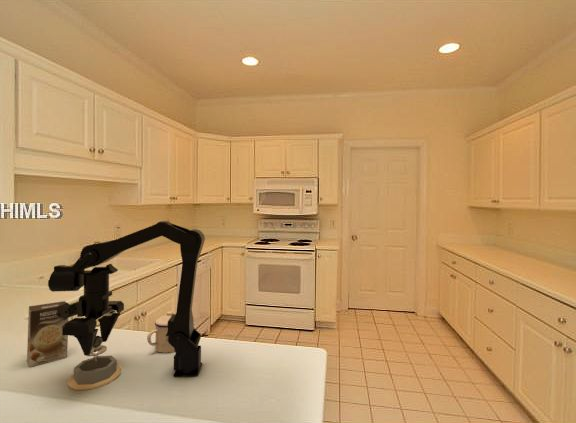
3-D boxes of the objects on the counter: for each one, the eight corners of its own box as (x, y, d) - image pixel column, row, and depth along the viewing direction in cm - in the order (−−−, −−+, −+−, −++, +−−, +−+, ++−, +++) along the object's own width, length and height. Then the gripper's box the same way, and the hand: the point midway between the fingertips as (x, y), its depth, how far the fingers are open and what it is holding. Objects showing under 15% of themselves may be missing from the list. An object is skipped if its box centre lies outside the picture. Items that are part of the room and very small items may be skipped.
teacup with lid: (174, 338, 104) (174, 305, 104) (189, 346, 99) (190, 311, 99) (140, 351, 95) (140, 314, 95) (155, 360, 89) (155, 321, 89)
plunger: (110, 356, 83) (110, 332, 83) (100, 365, 78) (100, 339, 78) (91, 356, 82) (91, 332, 82) (80, 366, 77) (80, 340, 77)
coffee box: (28, 368, 84) (29, 311, 84) (26, 360, 89) (27, 306, 89) (68, 357, 90) (68, 304, 90) (64, 350, 95) (65, 300, 95)
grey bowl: (129, 364, 86) (129, 352, 86) (106, 389, 74) (106, 375, 74) (86, 366, 85) (86, 353, 85) (56, 391, 73) (56, 376, 73)
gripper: (86, 282, 89) (86, 334, 89) (38, 300, 70) (37, 367, 70) (125, 281, 89) (124, 333, 89) (87, 300, 71) (86, 365, 71)
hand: (96, 348), depth 80 cm, fingers open, 8 cm apart
